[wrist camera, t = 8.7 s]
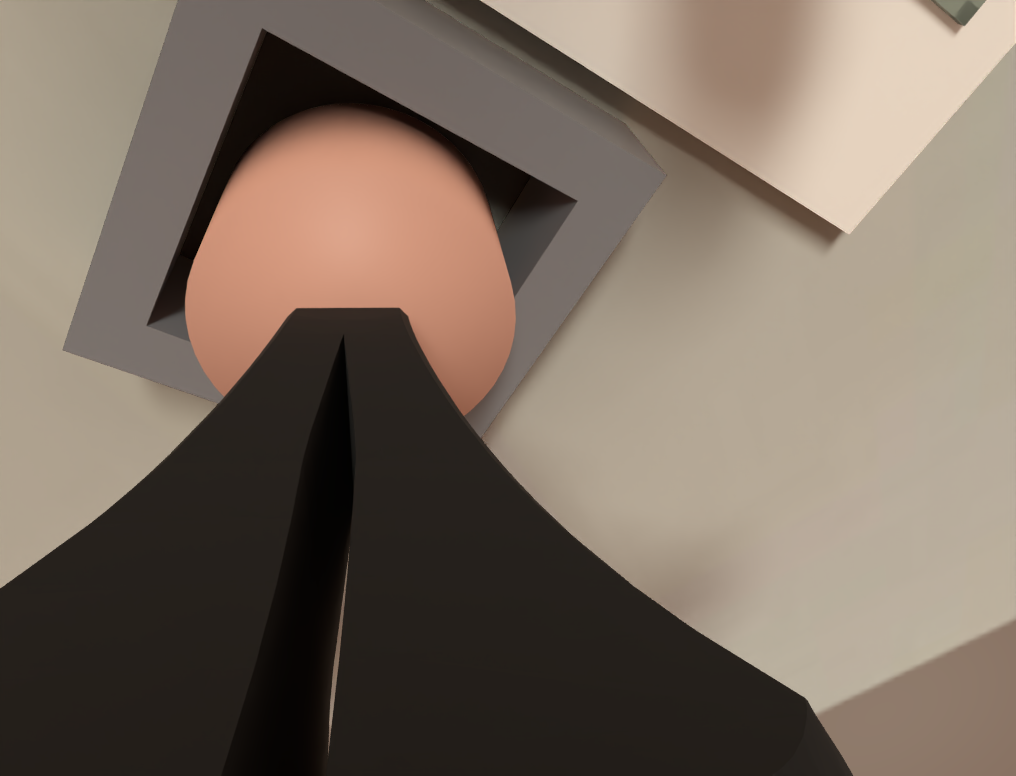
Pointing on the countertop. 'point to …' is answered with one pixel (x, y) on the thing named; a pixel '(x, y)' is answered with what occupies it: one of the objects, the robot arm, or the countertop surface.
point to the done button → (354, 245)
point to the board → (791, 78)
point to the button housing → (405, 79)
